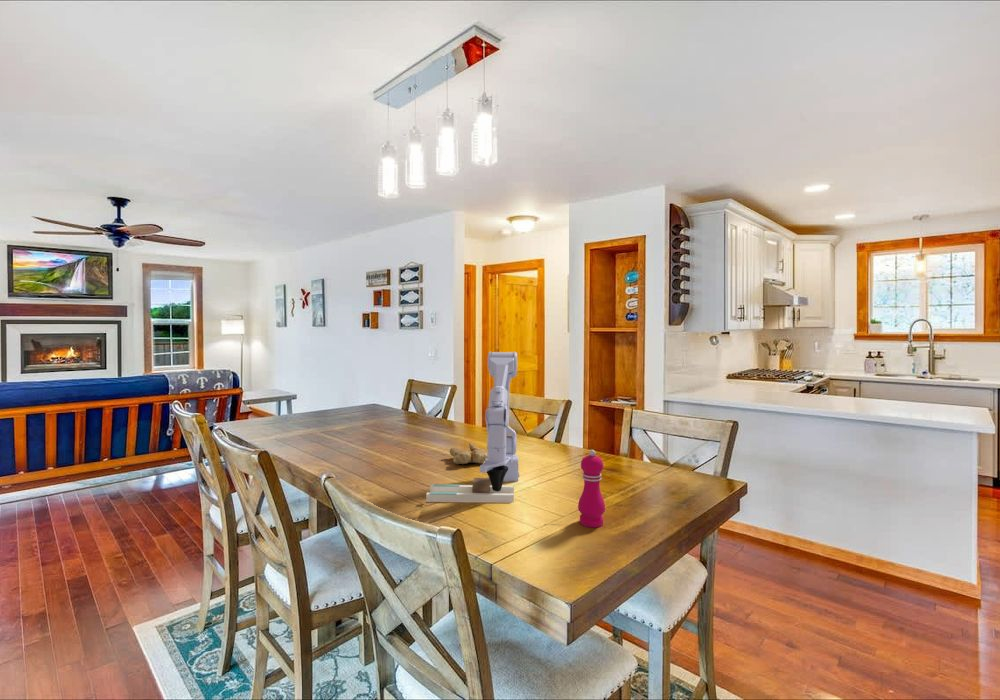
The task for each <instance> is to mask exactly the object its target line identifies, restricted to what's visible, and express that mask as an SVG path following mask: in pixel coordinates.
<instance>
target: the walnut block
mask: <svg viewBox="0 0 1000 700" xmlns="http://www.w3.org/2000/svg"><path fill="white" fill-rule="evenodd" d="M471 485H472V493H490V485H491V481H490V478H489V477H473V479H472V484H471Z"/></svg>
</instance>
